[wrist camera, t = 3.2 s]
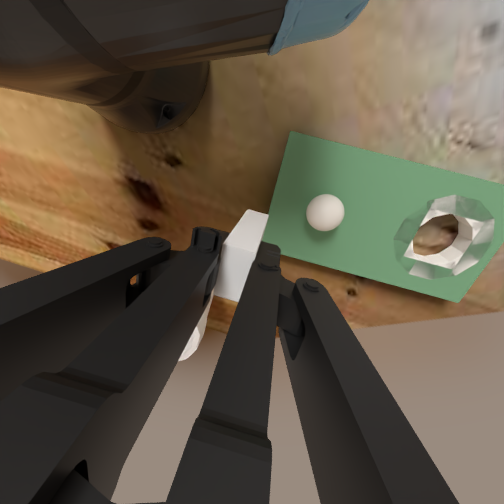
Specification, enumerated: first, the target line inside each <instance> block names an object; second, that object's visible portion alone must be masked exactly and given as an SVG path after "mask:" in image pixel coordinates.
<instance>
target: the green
mask: <svg viewBox="0 0 504 504" xmlns="http://www.w3.org/2000/svg"><path fill="white" fill-rule="evenodd" d="M323 194H330V195H333V196H335V197H337V198H338V199H339V200H340V201H341V202H342V204H343V206H344V218H343V220H342V222H341V223H340V224H339V225H338V226H337V227H336V228H334V229H332V230H330V231H319V230H316V229H315V228H313V227H312V226H311V225H310V224H309V222H308V220H307V217H306V210H307V207H308V205H309V203H310V202H311V201H312V199H314V198H315V197H317V196H319V195H323ZM446 214H453V215H454V217H455V218H456V219H457V220H458V235H457V237H456V238H455V240H454V241H453V243H452V244H451V246H449V247H448V248H446V249H445V250H443V251H441V252H440V253H438V254H433V255H428V256H422V255H418V254H415V253H414V252H413V241H412V240H413V238H414V236H415V234H416V232H417V231H418V229H419V227H420V226H422V225H423V224H424V223H426V222H427V221H429V220H430V219H431V218H433V217H437V216H441V215H446ZM268 215H269V217H268V220H267V224H266V228H265V231H264V235H263V239H262V241H264V242H267V243H271V244H275V245H278V246H279V248H280V249H281V254H282V255H286V256H289V257H293V258H296V259H300V260H304V261H307V262H311V263H315V264H318V265H322V266H326V267H329V268H333V269H336V270H340V271H344V272H347V273H351V274H355V275H358V276H362V277H366V278H369V279H373V280H376V281H380V282H384V283H387V284H391V285H395V286H398V287H402V288H406V289H409V290H413V291H416V292H420V293H424V294H427V295H431V296H435V297H438V298H442V299H446V300H449V301H453V302H456V303H459V302H460V300H461V299H462V298H463V296H464V295H465V294H466V292H467V291H468V290H469V288H470V287H471V285H472V284H473V283H474V281H475V280H476V279H477V277H478V276H479V275H480V273H481V272H482V271H483V269H484V268H485V266H486V265H487V264H488V262H489V261H490V260H491V258H492V257H493V256H494V254H495V253H496V252H497V250H498V249H499V247H500V246H501V245H502V243H503V242H504V185H503V184H499V183H495V182H491V181H487V180H483V179H479V178H475V177H471V176H467V175H463V174H459V173H455V172H451V171H447V170H443V169H439V168H435V167H431V166H428V165H424V164H420V163H416V162H412V161H408V160H404V159H400V158H396V157H392V156H388V155H384V154H380V153H376V152H372V151H368V150H364V149H360V148H356V147H353V146H349V145H345V144H341V143H337V142H333V141H329V140H325V139H321V138H317V137H313V136H309V135H305V134H301V133H297V132H293V131H290V134H289V138H288V142H287V145H286V149H285V153H284V157H283V160H282V164H281V168H280V171H279V175H278V179H277V183H276V186H275V190H274V194H273V198H272V201H271V205H270V209H269V213H268Z"/></svg>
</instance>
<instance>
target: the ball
mask: <svg viewBox="0 0 504 504" xmlns="http://www.w3.org/2000/svg"><path fill="white" fill-rule="evenodd" d="M306 217H307V220H308V222H309V224H310V225H311V226H312V227H313V228H315V229H316V230H319V231H330V230H332V229H334V228H336V227H337V226H338V225H339V224H340V223H341V222H342V220H343V218H344V206H343V204H342V202H341V201H340V200H339V199H338V198H337V197H335V196H333V195H330V194H323V195H319V196H317V197H315V198H314V199H312V201H311V202H310V203H309V205H308V207H307V210H306Z"/></svg>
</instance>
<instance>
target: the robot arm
mask: <svg viewBox="0 0 504 504" xmlns="http://www.w3.org/2000/svg"><path fill="white" fill-rule="evenodd" d="M368 1H369V0H0V87H2V88H7V89H12V90H17V91H22V92H27V93H31V94H36V95H41V96H46V97H51V98H56V99H61V100H66V101H71V102H75V103H81V104H86V105H87V106H89V107H90V108H92V109H93V110H95V111H96V112H98V113H99V114H101V115H102V116H103V117H105V118H106V119H108V120H109V121H111V122H112V123H114V124H116V125H118V126H120V127H122V128H125V129H127V130H131V131H135V132H141V133H153V134H154V133H163V132H167V131H170V130H172V129H174V128H176V127H178V126H180V125H181V124H182V123H184V122H185V121H186V120H187V119H188V118H189V117H190V116H191V115H192V113H193V112H194V111H195V109H196V107H197V106H198V104H199V102H200V100H201V98H202V95H203V92H204V89H205V86H206V81H207V75H208V61H210V60H217V59H223V58H230V57H237V56H244V55H251V54H258V53H265V52H267V54H268V55H274V54H276V53H278V52H279V51H280V50H281V49H283V48H286V47H290V46H294V45H298V44H303V43H307V42H312V41H316V40H321V39H325V38H329V37H332V36H334V35H336V34H338V33H340V32H341V31H343V30H344V29H346V28H347V27H348V26H349V25H350V24H351V23H352V22H353V21H354V20H355V19H356V18H357V17H358V15H359V14H360V13H361V11H362V10H363V9H364V8H365V6H366V5H367V3H368ZM268 217H269V215H268V214H264V213H260V212H256V211H253V210H249V209H247V211H246V212H245V214H244V215H243V216H242V218H241V219H240V221H239V222H238V223H237V225H236V226H235V228H234V229H233V230H232V232H231V233H228V232H225V231H221V230H216V229H214V228H210V227H195V228H193V232H192V240H191V246H190V247H189V248H188V249H187V250H186V251H174V250H171V244H170V242H169V241H167V240H165V239H162V238H159V237H148V238H143V239H140V240H137V241H134V242H131V243H129V244H126V245H123V246H120V247H117V248H114V249H111V250H108V251H106V252H103V253H100V254H97V255H94V256H91V257H88V258H86V259H83V260H80V261H77V262H74V263H71V264H68V265H66V266H63V267H60V268H57V269H54V270H51V271H48V272H45V273H43V274H40V275H37V276H34V277H31V278H28V279H25V280H23V281H20V282H17V283H14V284H11V285H8V286H5V287H3V288H0V504H115V503H113V502H111V501H110V500H111V498H112V495H113V493H114V490H115V488H116V485H117V482H118V479H119V476H120V473H121V470H122V468H123V465H124V463H125V461H126V459H127V457H128V455H129V453H130V451H131V449H132V447H133V445H134V443H135V441H136V440H137V438H138V436H139V434H140V432H141V430H142V428H143V426H144V424H145V422H146V421H147V419H148V417H149V415H150V413H151V411H152V409H153V407H154V405H155V403H156V402H157V400H158V398H159V396H160V394H161V392H162V390H163V388H164V386H165V385H166V382H167V381H168V379H169V377H170V375H171V373H172V371H173V369H174V367H175V366H176V364H177V362H178V360H179V358H180V356H181V354H182V352H183V351H184V349H185V347H186V345H187V343H188V341H189V339H190V337H191V335H192V334H193V332H194V330H195V328H196V326H197V324H198V322H199V320H200V318H201V317H202V315H203V313H204V311H205V309H206V307H207V305H208V303H209V301H210V297H211V292H212V290H213V288H214V291H213V295H215V296H219V297H222V298H226V299H229V300H233V301H236V302H238V305H237V308H236V311H235V313H234V316H233V319H232V322H231V325H230V328H229V331H228V334H227V336H226V339H225V342H224V345H223V348H222V351H221V354H220V357H219V359H218V363H217V365H216V368H215V371H214V374H213V377H212V380H211V383H210V385H209V388H208V391H207V394H206V397H205V400H204V403H203V406H202V409H201V411H200V414H199V416H198V417H197V418H196V420H195V423H194V425H193V427H192V430H191V433H190V436H189V438H188V441H187V444H186V447H185V449H184V452H183V455H182V458H181V461H180V463H179V466H178V469H177V472H176V475H175V477H174V480H173V483H172V486H171V489H170V492H169V494H168V497H167V500H166V502H160V503H138V504H269V496H270V481H271V465H272V446H271V441H270V440H269V439H268V437H267V427H268V415H269V403H270V391H271V380H272V369H273V358H274V346H275V335H276V325H277V326H278V327H279V336H280V340H281V344H282V348H283V352H284V356H285V360H286V365H287V369H288V372H289V377H290V380H291V385H292V389H293V393H294V397H295V401H296V405H297V409H298V413H299V417H300V421H301V426H302V430H303V434H304V438H305V442H306V446H307V450H308V454H309V458H310V462H311V466H312V470H313V474H314V478H315V482H316V486H317V490H318V494H319V499H320V503H321V504H459V503H458V501H457V499H456V498H455V496H454V494H453V493H452V491H451V490H450V488H449V486H448V485H447V483H446V482H445V480H444V478H443V477H442V475H441V474H440V472H439V470H438V469H437V467H436V466H435V464H434V462H433V461H432V459H431V457H430V456H429V454H428V452H427V451H426V449H425V448H424V446H423V444H422V443H421V441H420V440H419V438H418V436H417V435H416V433H415V432H414V430H413V428H412V427H411V425H410V424H409V422H408V420H407V419H406V417H405V416H404V414H403V412H402V411H401V409H400V407H399V406H398V404H397V402H396V401H395V399H394V398H393V396H392V394H391V393H390V391H389V390H388V388H387V386H386V385H385V383H384V382H383V380H382V378H381V377H380V375H379V373H378V372H377V370H376V369H375V367H374V366H373V364H372V362H371V361H370V359H369V357H368V356H367V354H366V352H365V351H364V349H363V348H362V346H361V344H360V343H359V341H358V340H357V338H356V336H355V335H354V333H353V331H352V330H351V328H350V327H349V325H348V323H347V322H346V320H345V319H344V317H343V315H342V314H341V312H340V311H339V309H338V307H337V306H336V304H335V302H334V301H333V299H332V298H331V296H330V294H329V293H328V291H327V290H326V288H325V287H324V286H323V285H322V284H320V283H319V282H318V281H316V280H313V279H308V278H299V279H297V281H296V282H295V283H293V282H291V281H289V280H287V279H286V278H284V277H283V276H282V275H281V268H280V267H279V264H280V254H281V249H280V248H279V246H278V245H275V244H271V243H267V242H264V241H262V239H263V235H264V231H265V228H266V224H267V220H268ZM135 275H136V283H135V284H133V285H131V284H130V279H131V278H132V277H133V276H135Z"/></svg>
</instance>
